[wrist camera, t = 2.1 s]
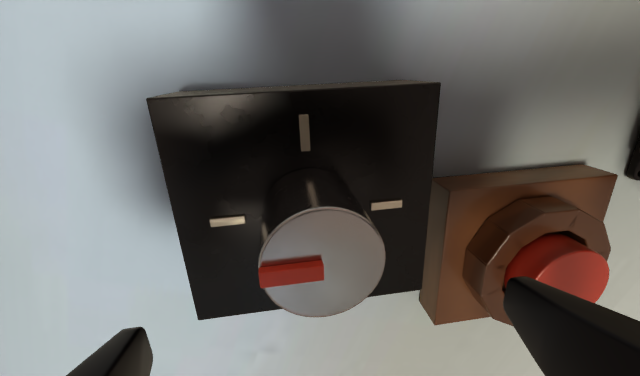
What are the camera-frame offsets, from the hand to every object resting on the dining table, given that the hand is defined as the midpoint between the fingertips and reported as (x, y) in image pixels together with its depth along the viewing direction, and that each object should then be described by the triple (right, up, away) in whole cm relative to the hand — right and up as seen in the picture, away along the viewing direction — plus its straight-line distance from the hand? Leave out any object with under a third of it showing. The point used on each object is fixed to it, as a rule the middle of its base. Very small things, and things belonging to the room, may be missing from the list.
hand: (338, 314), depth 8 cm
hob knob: (-1, +2, +6) cm, 6 cm away
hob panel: (-2, +4, +9) cm, 10 cm away
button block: (+11, 0, +13) cm, 17 cm away
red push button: (+12, -1, +9) cm, 15 cm away
